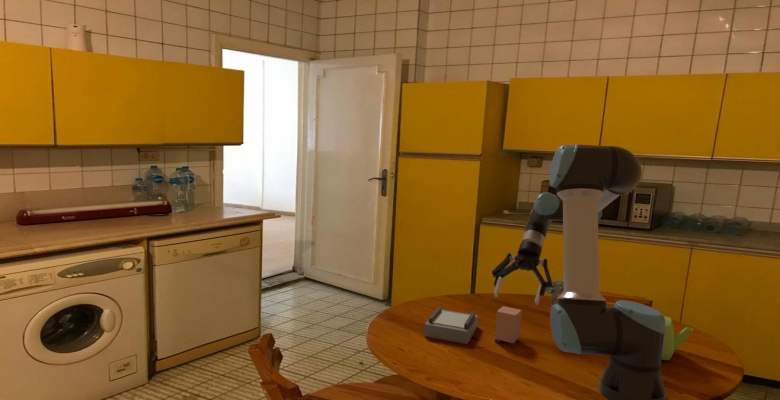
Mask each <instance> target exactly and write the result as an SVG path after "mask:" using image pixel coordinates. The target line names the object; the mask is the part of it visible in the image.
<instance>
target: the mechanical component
mask: <svg viewBox="0 0 780 400" xmlns="http://www.w3.org/2000/svg"><path fill="white" fill-rule="evenodd" d="M552 285H553V287H552V288H550V287H547V288H546V290H545V293H547V294H549V295H550V297H551V306H550V308H551V307H552V305H555V304H557V298H558V297H559V296H558V294H562V293H563V291H564V280H558V281H557V280H556V281H552Z"/></svg>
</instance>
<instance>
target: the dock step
mask: <svg viewBox="0 0 780 400" xmlns="http://www.w3.org/2000/svg"><path fill="white" fill-rule="evenodd" d="M442 308H443V307H441V306H438V307H437V308H436V309H435V311H434V312H433V313H432V314H430V316H429V318H428V319H427V321H426V322H425V324H424V332H423V337H425V338H431V339H438V340H443V341H447V342H455V343H459V344H465V345H468V344H469V343H470V341H471V339H472V338H473V335H474V334H475V332H476V330H477V328H478V323H479V322H478V321H479V320H478V319H479V315H478V314H476V313H475V312H474V311H473V312H471V313H465V312H459V311H453V310H446V309H442Z"/></svg>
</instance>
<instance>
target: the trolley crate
mask: <svg viewBox="0 0 780 400" xmlns="http://www.w3.org/2000/svg"><path fill="white" fill-rule="evenodd" d="M521 320H522V309H518V308H514V307H509V306H505V305H504V306H501V307H500V308H499V309H498V310H496V319H495V321H496V322H495V331H494V333H495V336H494V342H495V343H496V344H497V343H498V344H501V343H502V341H503V342H507V343H508V346H509V347H514V346H515V345H516V342H519V341H520V335H521V333H520V332H521V322H522V321H521Z"/></svg>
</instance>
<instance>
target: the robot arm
mask: <svg viewBox="0 0 780 400" xmlns="http://www.w3.org/2000/svg"><path fill="white" fill-rule="evenodd" d="M549 171H550V172H549V185H550V186H551V188H554V189H556V194H553V193H551V192H547V191H546V192H545V191H544V192H541V193H540V194H539V195H538V196H537V198H536V199H535V201H534V202H533V206H532V209H531V211H530V213H529V215H528V219H527V222H526V226H525V230H524V232H523V235H522V238H521V241H520V245H519V248H518V251H517V253H516V255H512V254H511V253H510V252H508V253H507V254H506V257H505V258H504V259H503V260H502V261H501V262H500V263H499V264H498V265H497V266H495V268H494V269H493V270H492V271H491V274H492V277H493V278H494V282H493V285H494V291H493V295H494V297H495V298H498V296H499V293H500V290H501V287H502V284H503V279H504V278H505V277H506V276H508V275H510V274H511V273H513V272H515V271H518V270H519V269H520V270H521V271H527V272H530V271H532V273H533V274H534V275H535V277H536V278H537V280H538V282H539V284H538V286H537V287H538V288H537V290H536V295H535V298H534V304H535V305H536V306H539V303H540V300H541V297H544V296H545V293H546V292H545V290H546V288H547V287H550V288H552V287H553V285H552V282H553V281H552V278H551V275H550V271H549V268H548V267H549V263H548V261H549V260H548V259H547V258H544V259H543V260H542V259H540V258H541V255H542V251H543V248H544V244H545V241H546V237H547V234H548V231H549V228H550V226H551V223H552V221H554V222H562V230H563V231H562V235H563V236H562V238H563V239H562V240H563V241H562V244H563V245H562V246H563V247H562V248H563V250H562V251H563V252H562V253H563V255H562V256H563V282H564V291H563V293H560V295H559V296H558V297H557V303H556V304H555V305H552V307H551V306H550V314H549V321H550V322H549V324H550V329H551V335H552V338H553V340H554V343H555V345H556V347H557V348H558V349H559V350H561V351H562V352H565V353H571V354H572V353H573V354H577V355H580V354H586V355H600V356H603V355H605V356H609V360H608V362H607V364H606V367H605V369H604V370H603V373H602V374H601V377H600V378H599V379H600V380H599V391H600V392H601V393H602V395H604V397H606V398H607V399H608V400H666V396H667V395H666V394H667V393H666V389H665V384H664V381H663V376H662V373H661V372H662V371H661V368H662V353H663V344H664V336H665V333H666V332H665V317H666V316H665V317H664V314H663V313H662V312H660V311H659V310H657V309H656V308H653V307H651V306H649V305H646V304H642V303H639V302H635V301H631V300H622V299H621V300H617V301H615V303H614V305H613V307H607V299H606V298H605V297H604V296H603V295H602V294H601V292H600V265H599V264H600V261H599V259H600V258H599V254H600V253H599V221H600V220H601V218H602V216H603V209H605V208H606V207H607V206H608V205H609V204H610V203H612V202H613V201H614V200H616V199H617V198H619V196H623V195H624V196H625V195H627V194H629V193H630V192H632V191H634V190H635V189H636V187H638V185H639V183H640V181H641V178H642V174H643V172H642V171H643V168H642V165H641V163H640V161H639V159H638V157H636V155H634V154H633V153H632V152H631V151H630V150H628V149H626V148H624V147H621V146H616V145H595V144H594V145H593V144H591V145H590V144H578V143H576V144H562V145H560V146H559V147H558V148H557V149H556V150H555V153H554V154H553V158H552V162H551V165H550V169H549ZM510 263H511V264H510ZM539 265H541V267H542V268H543V271H544V274H545V278H546V280H545V279H544V277H543V275H542V273H540V270H539V269H538V268H537V267H538V266H539Z"/></svg>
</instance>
